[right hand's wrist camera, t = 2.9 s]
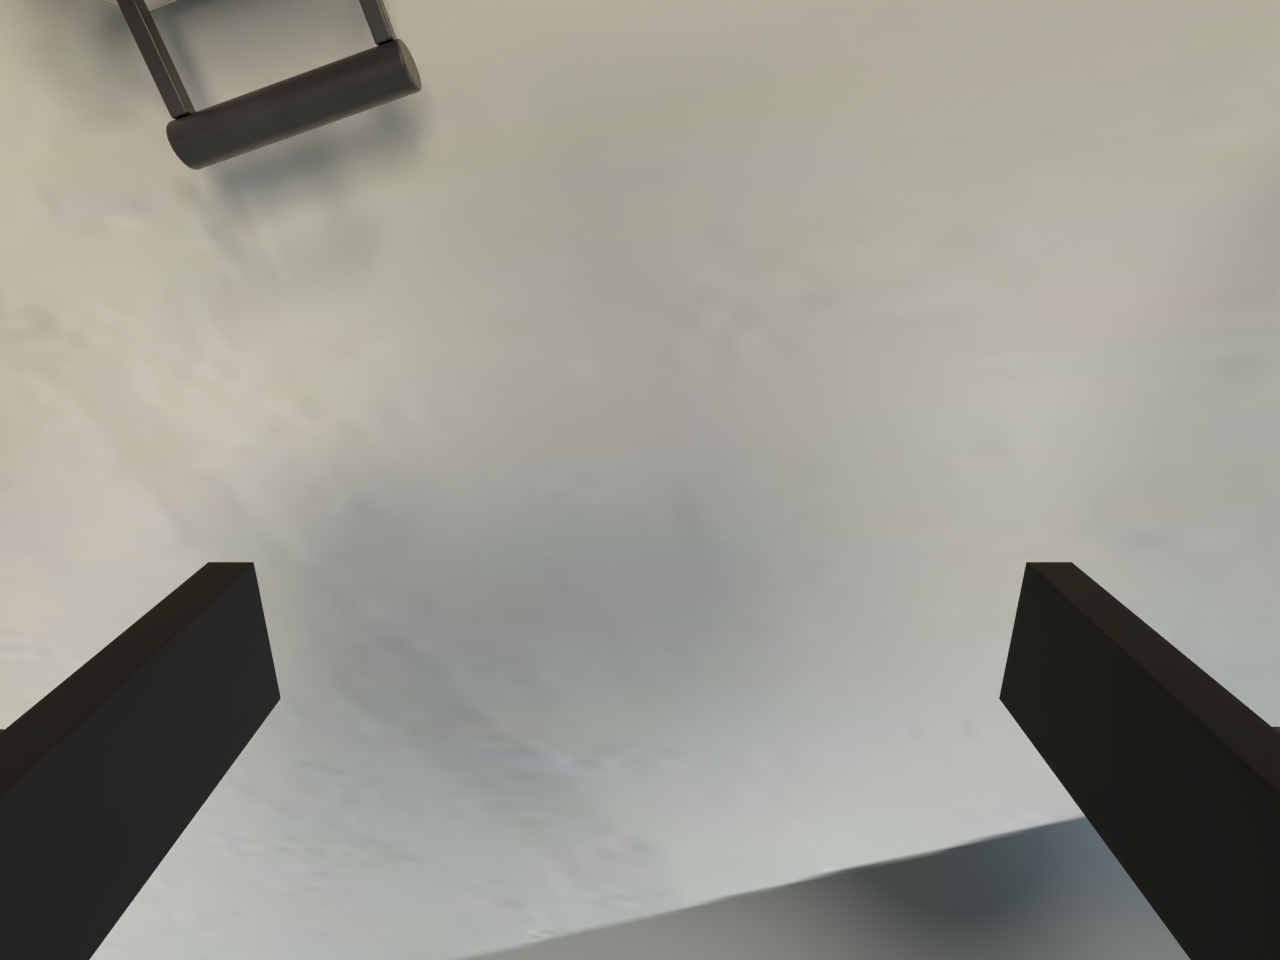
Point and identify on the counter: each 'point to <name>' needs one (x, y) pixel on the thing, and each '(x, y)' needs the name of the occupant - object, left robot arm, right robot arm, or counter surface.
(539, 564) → the counter surface
